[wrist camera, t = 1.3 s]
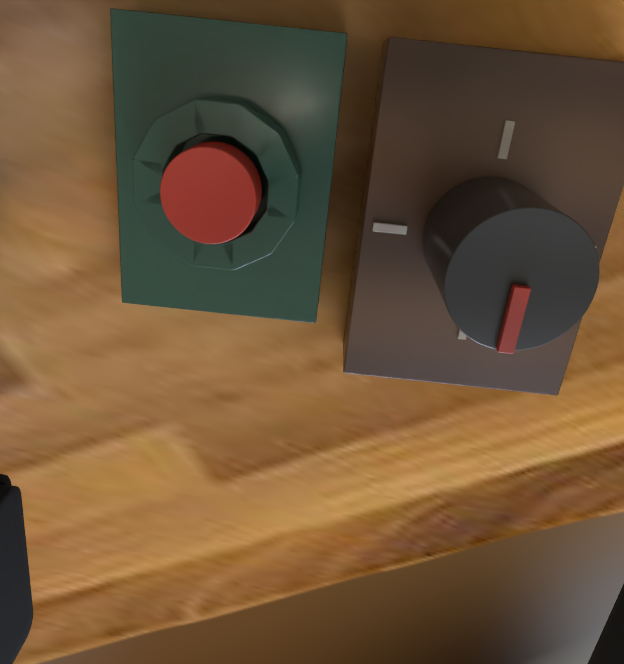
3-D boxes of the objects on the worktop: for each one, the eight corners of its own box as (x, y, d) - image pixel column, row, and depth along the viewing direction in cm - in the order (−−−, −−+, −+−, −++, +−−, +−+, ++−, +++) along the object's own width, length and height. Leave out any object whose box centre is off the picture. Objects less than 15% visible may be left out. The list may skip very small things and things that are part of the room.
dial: (434, 170, 23) (462, 201, 18) (560, 183, 23) (624, 218, 18) (413, 288, 25) (432, 346, 20) (529, 300, 25) (578, 362, 20)
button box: (128, 12, 24) (91, 3, 21) (347, 35, 24) (348, 30, 21) (136, 286, 29) (107, 318, 26) (317, 305, 29) (314, 340, 26)
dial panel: (383, 39, 24) (389, 36, 21) (625, 65, 24) (663, 65, 21) (343, 345, 30) (343, 375, 27) (538, 365, 30) (559, 397, 27)
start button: (171, 136, 23) (158, 141, 21) (264, 145, 23) (259, 152, 21) (171, 227, 24) (159, 239, 23) (259, 237, 24) (253, 249, 23)
